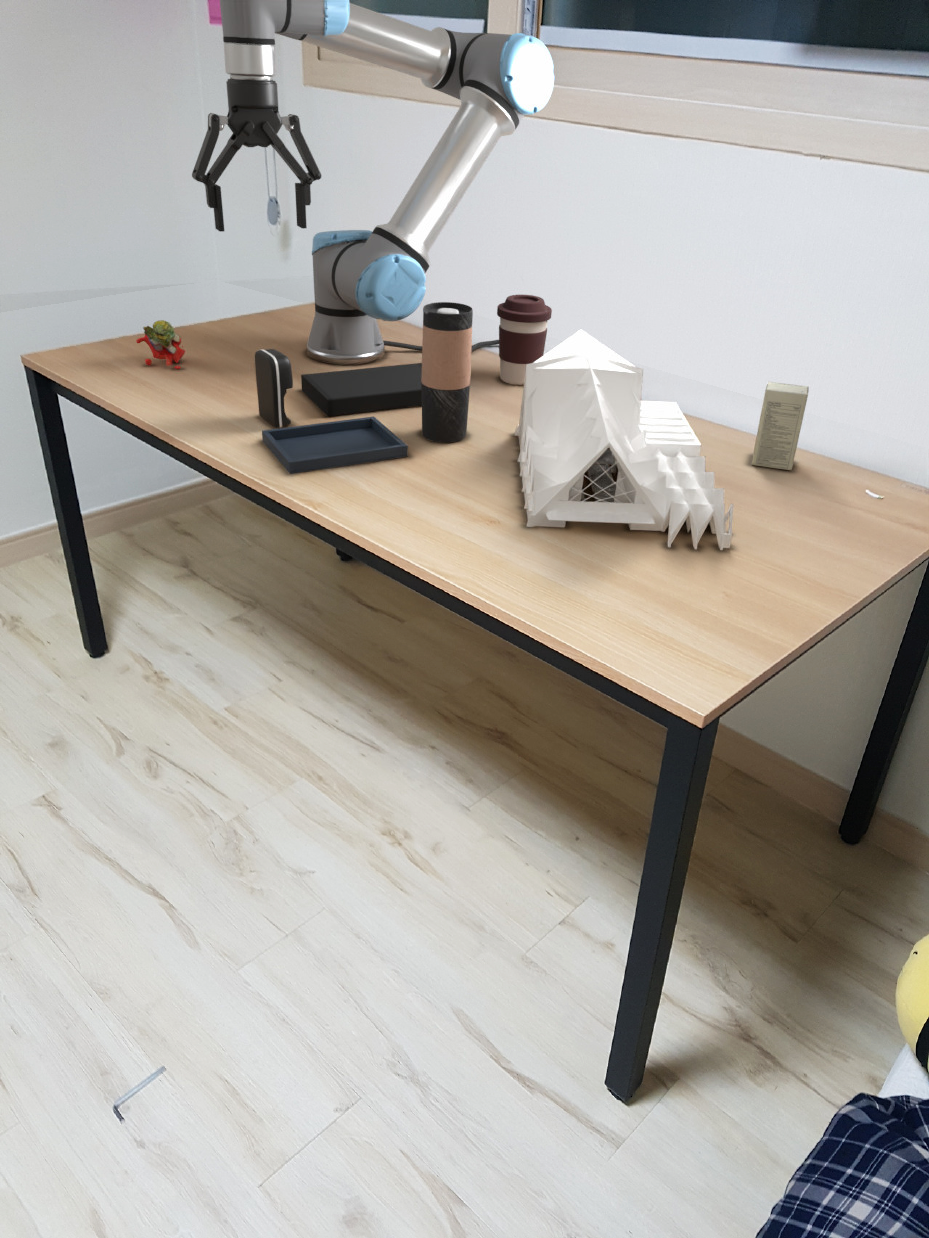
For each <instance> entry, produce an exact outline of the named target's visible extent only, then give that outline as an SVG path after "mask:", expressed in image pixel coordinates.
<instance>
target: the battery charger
mask: <svg viewBox="0 0 929 1238" xmlns="http://www.w3.org/2000/svg"><path fill="white" fill-rule="evenodd" d="M254 371H255V383H256V394H257V406H258V415H259V417H260V418H261V419H263V420H264V421H265V422H266V423H268V424H269V425H271V426H272V427H274V428H275V429H279V428H284V427H288V426H290V425H291V424H292V420H291V418H289V417H288V416H287V413H286V409H285V396H286V394H287V392H288V391H287V390H291V389H293V388H294V387H293V386H294V381H293V380H294V379H293V370H292V364H291V360H290V359H289V357H288V356H287V355H285V354H284V353H283V352H281V351H279V350H277V349H275V348H266V349H261V348H260V349H258V350H256V351H255V352H254Z"/></svg>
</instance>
